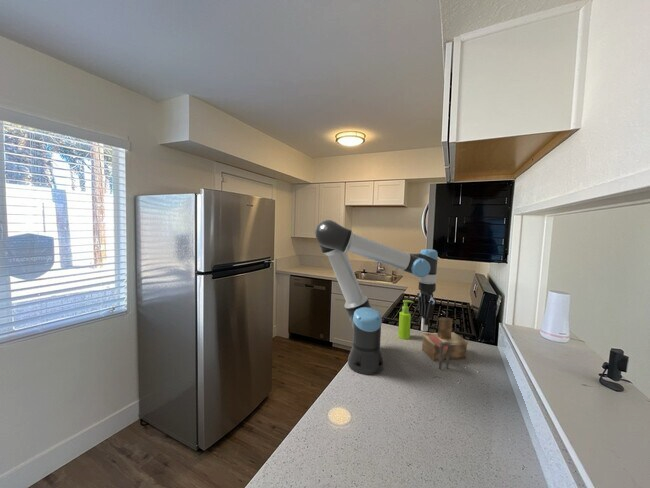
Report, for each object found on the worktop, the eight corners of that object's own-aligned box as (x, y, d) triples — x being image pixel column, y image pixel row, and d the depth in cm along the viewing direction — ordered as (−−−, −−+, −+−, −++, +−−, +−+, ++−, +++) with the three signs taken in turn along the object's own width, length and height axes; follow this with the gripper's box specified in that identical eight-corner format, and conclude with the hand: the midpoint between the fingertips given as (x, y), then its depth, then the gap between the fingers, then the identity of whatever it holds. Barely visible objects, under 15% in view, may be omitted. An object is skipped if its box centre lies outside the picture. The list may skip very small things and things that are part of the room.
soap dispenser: (413, 339, 143) (415, 302, 141) (399, 339, 143) (401, 302, 141) (409, 334, 149) (411, 299, 147) (397, 334, 149) (398, 298, 147)
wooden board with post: (434, 348, 121) (435, 324, 120) (421, 338, 131) (423, 315, 130) (467, 346, 124) (469, 322, 123) (453, 336, 134) (454, 314, 133)
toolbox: (439, 369, 115) (441, 343, 114) (419, 350, 132) (420, 327, 130) (476, 366, 118) (478, 341, 117) (451, 348, 135) (453, 325, 133)
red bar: (443, 350, 114) (443, 346, 114) (428, 338, 125) (429, 334, 125) (447, 349, 115) (447, 345, 114) (432, 338, 125) (433, 334, 125)
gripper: (442, 285, 123) (439, 335, 125) (427, 279, 136) (424, 324, 138) (427, 285, 121) (424, 336, 124) (413, 279, 134) (410, 325, 137)
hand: (424, 330), depth 131 cm, fingers closed
